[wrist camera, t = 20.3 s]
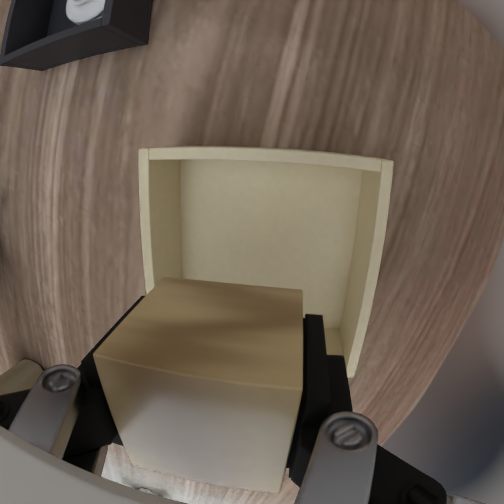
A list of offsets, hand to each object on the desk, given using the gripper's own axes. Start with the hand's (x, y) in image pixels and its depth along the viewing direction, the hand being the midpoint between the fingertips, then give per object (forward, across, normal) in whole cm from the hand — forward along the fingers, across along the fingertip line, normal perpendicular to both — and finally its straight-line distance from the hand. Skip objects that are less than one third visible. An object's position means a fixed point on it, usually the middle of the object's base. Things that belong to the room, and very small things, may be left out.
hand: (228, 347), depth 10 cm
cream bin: (+11, 0, 0) cm, 11 cm away
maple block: (0, 0, 0) cm, 0 cm away
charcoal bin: (+11, +13, -19) cm, 25 cm away
